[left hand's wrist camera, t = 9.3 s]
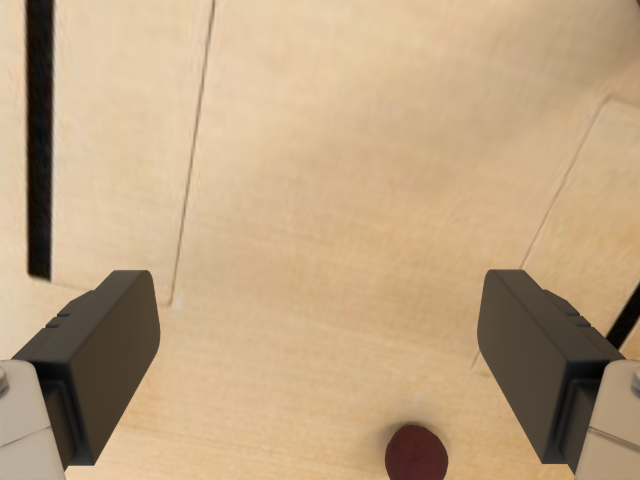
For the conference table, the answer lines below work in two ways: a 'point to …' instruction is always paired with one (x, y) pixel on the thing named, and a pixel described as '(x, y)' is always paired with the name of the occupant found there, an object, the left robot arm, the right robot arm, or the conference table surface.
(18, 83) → the conference table surface
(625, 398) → the left robot arm
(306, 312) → the conference table surface
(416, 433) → the potato
